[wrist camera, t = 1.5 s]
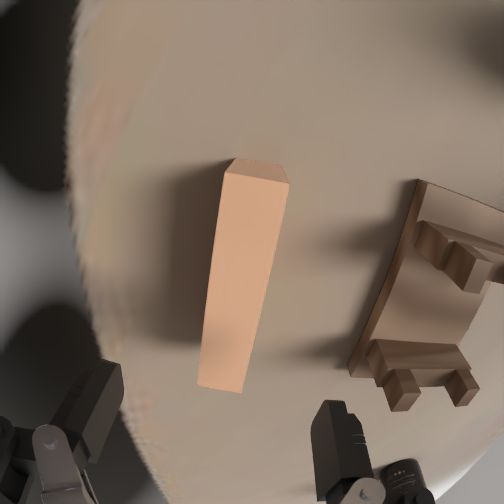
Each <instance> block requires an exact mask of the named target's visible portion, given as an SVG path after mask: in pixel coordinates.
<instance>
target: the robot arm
mask: <svg viewBox="0 0 504 504" xmlns="http://www.w3.org/2000/svg"><path fill="white" fill-rule="evenodd" d="M123 396H124V385H123V378H122V371H121V365H120V364H118V363H114V362H111V361H108V360H104V359H101V360H100V362H99V363H98V365H97V367H96V368H95V370H93V369H90V368H87V369H86V370H84V371H83V372H81V373H80V374H79V375H78V376H77V378H76V379H75V381H74V383H73V386H71V388H70V389H69V391H68V394H66V396H65V398H64V400H63V401H62V403H61V405H60V406H59V408H58V410H57V412H56V413H55V415H54V417H53V419H52V420H51V422H50V423H49V424H48V425H43V426H41V427H39V428H37V429H35V430H32V429H25V428H20V427H14V426H13V425H12V424H11V422H10V421H9V420H8V419H7V418H5V417H3V416H0V504H25V503H26V500H27V497H28V494H29V492H30V489H31V486H32V483H33V481H34V478H35V476H36V477H40V478H41V481H42V485H43V492H42V500H43V503H44V504H98V502H97V499H96V497H95V495H94V492H93V490H92V488H91V485H90V483H89V480H88V477H87V475H86V472H85V470H84V469H85V467H86V464H87V462H91V463H94V464H96V463H97V461H98V458H99V455H100V453H101V450H102V448H103V446H104V443H105V441H106V438H107V436H108V433H109V431H110V428H111V426H112V424H113V421H114V419H115V416H116V414H117V412H118V410H119V407H120V405H121V403H122V400H123ZM363 435H364V433H363V429H362V425H361V423H360V421H359V420H358V418H357V417H356V416H355V414H348V413H347V409H346V405H345V402H344V401H338V400H325V401H324V402H323V403H322V405H321V407H320V409H319V411H318V413H317V414H316V416H315V418H314V420H313V422H312V425H311V443H312V452H313V462H314V472H315V483H316V494H317V501H326V503H327V504H435V500H434V497H433V494H432V493H431V492H430V491H429V490H428V489H427V488H425V487H420V486H418V487H413V488H411V489H410V490H409V491H407V492H404V491H397V490H391V489H387V488H385V487H384V486H383V485H382V484H381V483H380V482H379V481H378V480H376V479H375V478H374V475H373V472H372V467H371V463H370V458H369V454H368V450H367V446H366V445H365V443H366V441H365V437H364V436H363Z"/></svg>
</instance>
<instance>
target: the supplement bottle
mask: <svg viewBox="0 0 504 504" xmlns="http://www.w3.org/2000/svg"><path fill="white" fill-rule="evenodd" d="M379 480H380V483H381V484H382V485H383V486H384V487H385V488H387V489H391V490H397V491H404V492H407V491H409V490H410V489H411V488H413V487H418V486H420V487H425V488H427V487H426V484H425V481H424V478H423V475H422V471H421V468H420V465H419V463H418V461H417V460H415V459H406V460H402V461H399V462H396V463H394V464H392V465H390V466H388V467H386V468H385V469H384V470H382V471H381V473H380V475H379Z"/></svg>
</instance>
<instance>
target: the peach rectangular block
mask: <svg viewBox="0 0 504 504" xmlns="http://www.w3.org/2000/svg"><path fill="white" fill-rule="evenodd" d="M289 186H290V183H289V180H288V178H287V176H286V173H285V171H284V169H283V166H278V165H273V164H268V163H262V162H257V161H251V160H246V159H240V158H235V160H234V161H233V162H232V164H231V165H230V166H229V167H228V169H227V170H226V171H225V174H224V180H223V186H222V193H221V199H220V206H219V212H218V219H217V226H216V233H215V240H214V247H213V254H212V262H211V269H210V277H209V285H208V292H207V301H206V309H205V317H204V326H203V335H202V344H201V353H200V362H199V372H198V383H197V385H198V386H203V387H208V388H214V389H220V390H226V391H232V392H238V393H241V391H242V387H243V383H244V379H245V375H246V371H247V367H248V363H249V359H250V355H251V351H252V347H253V343H254V339H255V335H256V331H257V327H258V323H259V318H260V314H261V310H262V306H263V302H264V297H265V293H266V289H267V285H268V280H269V276H270V272H271V267H272V263H273V259H274V254H275V250H276V245H277V241H278V236H279V232H280V228H281V223H282V219H283V214H284V209H285V205H286V200H287V196H288V191H289Z"/></svg>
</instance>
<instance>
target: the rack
mask: <svg viewBox="0 0 504 504" xmlns="http://www.w3.org/2000/svg"><path fill="white" fill-rule="evenodd" d="M491 281H492V282H497V283H501V284H504V212H503V211H500V210H498V209H496V208H494V207H491V206H489V205H486V204H484V203H482V202H479V201H477V200H474V199H472V198H469V197H467V196H464V195H462V194H459V193H456V192H454V191H451V190H448V189H446V188H443V187H440V186H437V185H435V184H432V183H429V182H426V181H423V180H420V179H418V181H417V185H416V189H415V192H414V196H413V199H412V203H411V206H410V209H409V213H408V216H407V219H406V222H405V225H404V228H403V231H402V234H401V237H400V240H399V243H398V246H397V249H396V252H395V255H394V258H393V260H392V263H391V266H390V268H389V271H388V274H387V276H386V279H385V282H384V284H383V287H382V289H381V292H380V294H379V297H378V299H377V301H376V304H375V306H374V309H373V311H372V313H371V316H370V318H369V320H368V322H367V325H366V327H365V329H364V331H363V334H362V336H361V338H360V340H359V342H358V344H357V347H356V349H355V351H354V353H353V355H352V357H351V359H350V361H349V363H348V365H347V366H348V370H349V374H350V377H357V378H374V380H375V383H376V385H377V387H383V390H384V392H385V395H386V398H387V401H388V404H389V407H390V410H391V412H398V411H408V410H409V409H410V408H411V406H412V405H413V404H414V402H415V401H416V400H417V398H418V397H419V395H420V394H421V391H420V389H419V387H437V386H445V388H446V390H447V392H448V394H449V396H450V398H451V400H452V402H453V404H454V406H455V407H459V406H467V405H468V404H469V402H470V401H471V400H472V399H473V397H474V396H475V395H476V393H477V392H478V391H479V389H480V388H479V386H478V384H477V383H476V381H475V379H474V378H473V376H472V375H471V373H470V370H471V369H472V368H471V367H470V365H469V364H468V362H467V361H466V359H465V358H464V356H463V355H462V353H461V352H460V350H459V348H458V345H459V343H460V342H461V340H462V338H463V336H464V335H465V333H466V331H467V329H468V328H469V326H470V324H471V322H472V320H473V318H474V316H475V315H476V313H477V311H478V309H479V307H480V305H481V303H482V301H483V299H484V297H485V294H486V292H487V290H488V288H489V286H490V284H491Z"/></svg>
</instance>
